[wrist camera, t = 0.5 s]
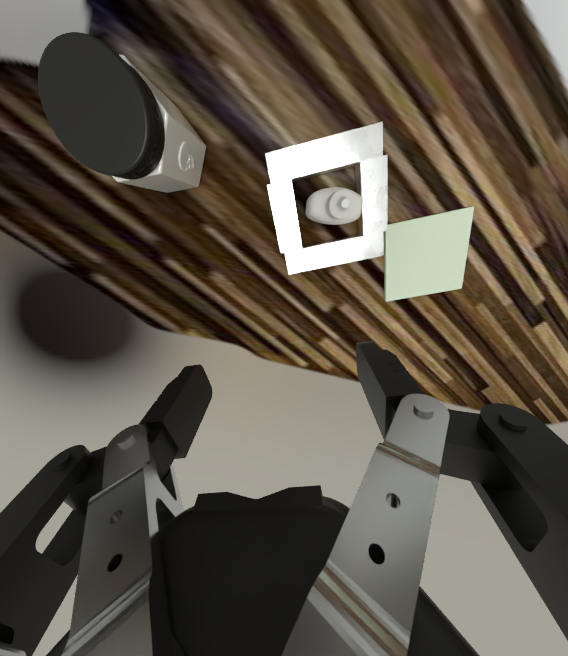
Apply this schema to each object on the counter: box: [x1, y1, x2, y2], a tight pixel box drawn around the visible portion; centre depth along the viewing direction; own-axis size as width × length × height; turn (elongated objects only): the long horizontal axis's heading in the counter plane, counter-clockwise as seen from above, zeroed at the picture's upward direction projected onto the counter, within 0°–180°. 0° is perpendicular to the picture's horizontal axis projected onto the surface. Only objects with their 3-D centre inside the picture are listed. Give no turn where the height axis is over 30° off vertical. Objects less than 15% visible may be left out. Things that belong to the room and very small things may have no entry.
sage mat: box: [384, 207, 474, 301], centre depth 31 cm, size 11×11×1 cm
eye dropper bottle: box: [305, 187, 363, 225], centre depth 24 cm, size 4×6×12 cm
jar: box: [38, 32, 206, 193], centre depth 22 cm, size 9×8×12 cm
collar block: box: [265, 122, 387, 274], centre depth 28 cm, size 14×14×2 cm
